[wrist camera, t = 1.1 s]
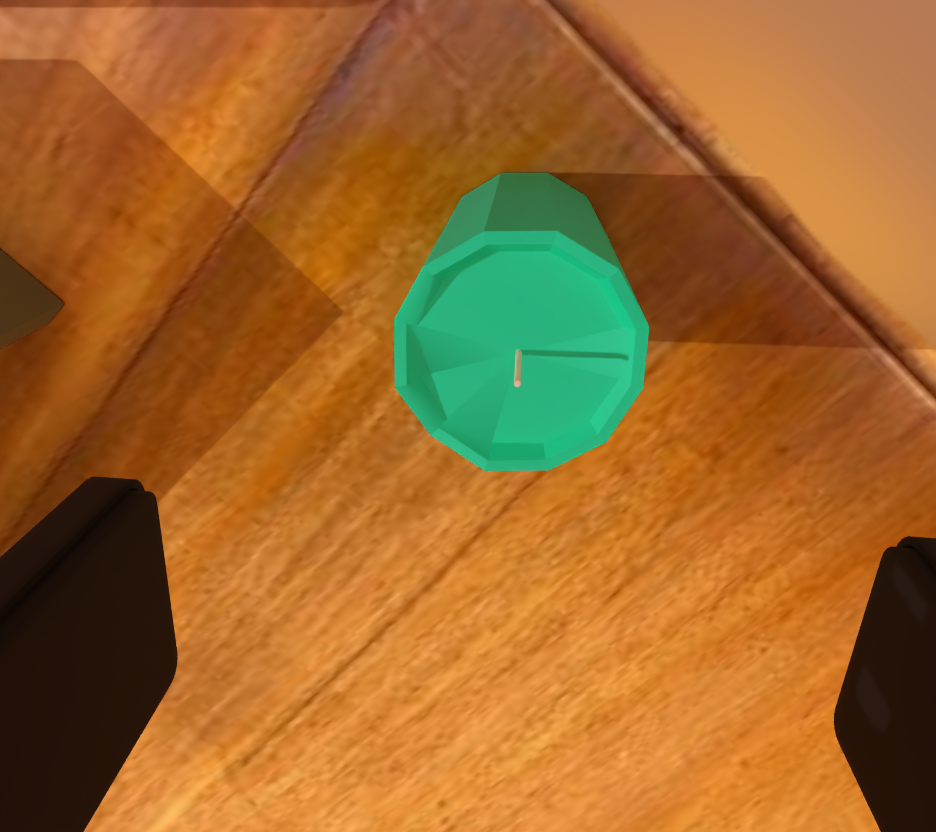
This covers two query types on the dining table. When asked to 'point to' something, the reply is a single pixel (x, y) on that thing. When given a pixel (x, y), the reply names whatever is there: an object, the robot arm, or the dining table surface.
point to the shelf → (22, 302)
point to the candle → (521, 329)
